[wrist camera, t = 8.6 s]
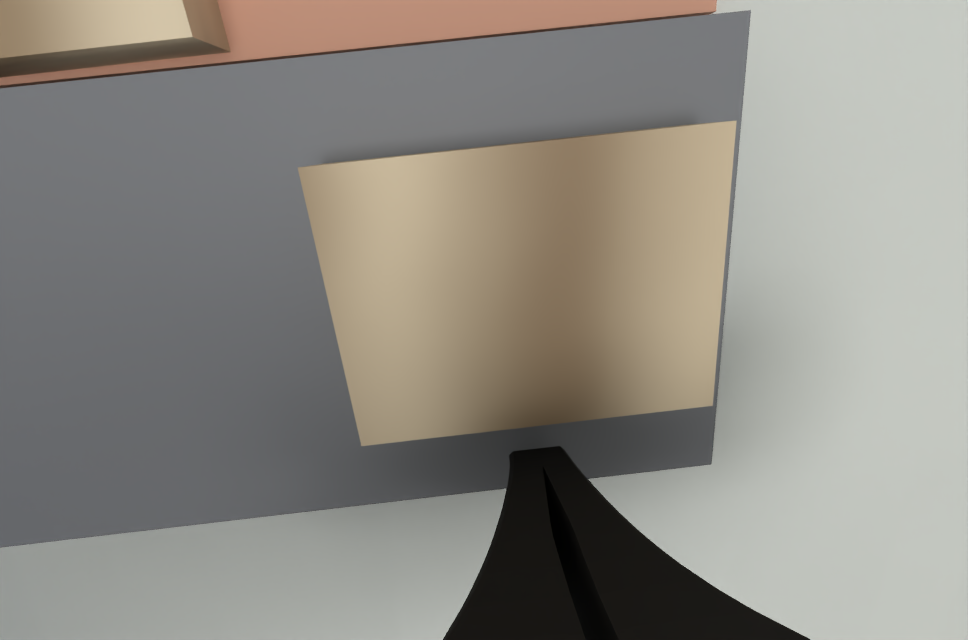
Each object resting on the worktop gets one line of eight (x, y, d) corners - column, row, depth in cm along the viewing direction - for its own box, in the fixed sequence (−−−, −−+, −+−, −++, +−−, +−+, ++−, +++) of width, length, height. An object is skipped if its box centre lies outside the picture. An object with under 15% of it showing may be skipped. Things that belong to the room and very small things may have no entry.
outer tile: (373, 408, 12) (361, 445, 11) (321, 163, 10) (297, 166, 8) (681, 373, 12) (713, 405, 11) (695, 123, 10) (736, 120, 9)
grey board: (54, 497, 15) (-5, 547, 13) (-146, 120, 11) (-270, 116, 9) (680, 424, 15) (711, 464, 13) (702, 32, 11) (750, 9, 9)
